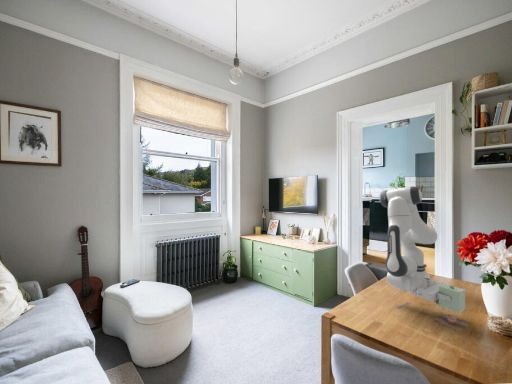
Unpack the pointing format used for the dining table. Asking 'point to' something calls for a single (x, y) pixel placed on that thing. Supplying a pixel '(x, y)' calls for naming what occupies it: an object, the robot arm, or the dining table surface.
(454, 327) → the board
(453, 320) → the bowl
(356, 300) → the dining table surface
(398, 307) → the mat
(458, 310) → the mint green lunchbox
